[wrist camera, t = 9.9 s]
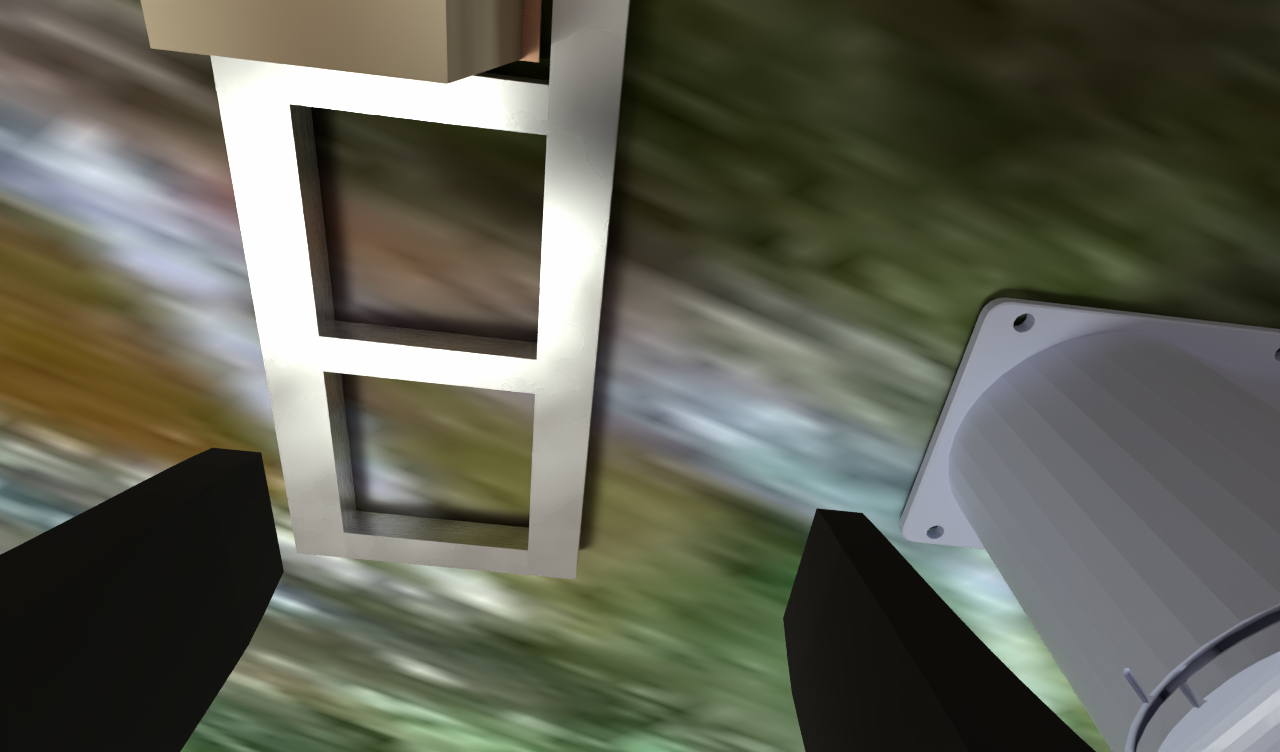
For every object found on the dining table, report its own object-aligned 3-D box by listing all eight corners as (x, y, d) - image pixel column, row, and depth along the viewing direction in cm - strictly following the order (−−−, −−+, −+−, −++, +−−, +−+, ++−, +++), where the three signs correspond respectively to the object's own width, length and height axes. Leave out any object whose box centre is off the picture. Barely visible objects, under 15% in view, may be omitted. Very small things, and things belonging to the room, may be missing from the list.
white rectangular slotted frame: (659, -305, 12) (660, -331, 11) (578, 556, 22) (575, 579, 21) (168, -379, 12) (129, -411, 11) (311, 530, 21) (296, 553, 20)
